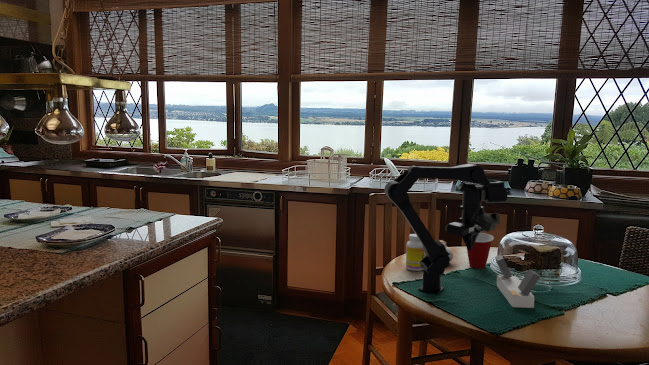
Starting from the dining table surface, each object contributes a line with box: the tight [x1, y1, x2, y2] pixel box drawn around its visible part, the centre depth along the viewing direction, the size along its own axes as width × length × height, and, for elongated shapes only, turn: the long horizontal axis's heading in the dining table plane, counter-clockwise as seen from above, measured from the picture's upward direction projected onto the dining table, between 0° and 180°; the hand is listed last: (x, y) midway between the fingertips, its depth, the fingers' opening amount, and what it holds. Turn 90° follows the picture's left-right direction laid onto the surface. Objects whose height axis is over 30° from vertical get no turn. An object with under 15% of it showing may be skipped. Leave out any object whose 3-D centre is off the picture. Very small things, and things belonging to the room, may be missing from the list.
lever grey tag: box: [494, 254, 513, 279], centre depth 145 cm, size 2×4×7 cm, turn 173°
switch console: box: [496, 274, 535, 309], centre depth 139 cm, size 6×18×4 cm, turn 173°
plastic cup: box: [466, 232, 495, 270], centre depth 168 cm, size 11×11×12 cm
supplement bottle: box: [405, 233, 424, 272], centre depth 166 cm, size 7×7×13 cm
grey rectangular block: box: [518, 269, 541, 295], centre depth 131 cm, size 2×4×7 cm, turn 172°
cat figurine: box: [424, 239, 454, 262], centre depth 175 cm, size 10×8×15 cm
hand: (469, 249), depth 145 cm, fingers closed
